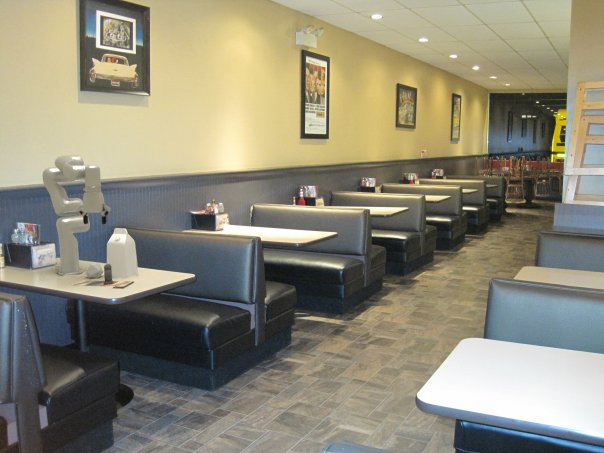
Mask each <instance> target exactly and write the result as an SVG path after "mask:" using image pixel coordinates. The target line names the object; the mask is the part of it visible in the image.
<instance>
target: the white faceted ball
mask: <svg viewBox="0 0 604 453" xmlns="http://www.w3.org/2000/svg"><path fill="white" fill-rule="evenodd" d="M84 272H85V274H86V277H87V279H100V278H101V276H102V275H103V274H104V269H103V268H102V266H101V265H100V263H89V264H88V266H87V267H86V268H85V270H84Z"/></svg>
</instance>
